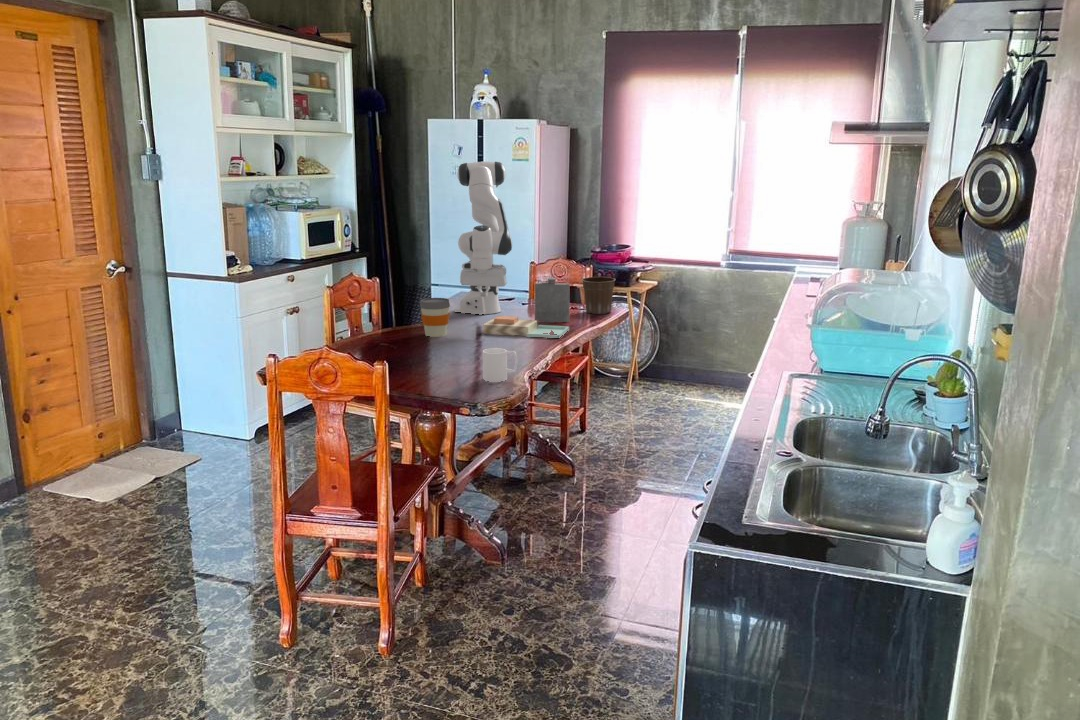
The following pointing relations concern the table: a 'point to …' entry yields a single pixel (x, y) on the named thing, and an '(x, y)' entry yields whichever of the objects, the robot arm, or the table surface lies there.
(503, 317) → the salmon pink block
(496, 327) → the beige flat block
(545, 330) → the tray
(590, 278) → the plant pot
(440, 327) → the reusable coffee cup
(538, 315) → the hip flask
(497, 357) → the cup
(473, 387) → the table surface
